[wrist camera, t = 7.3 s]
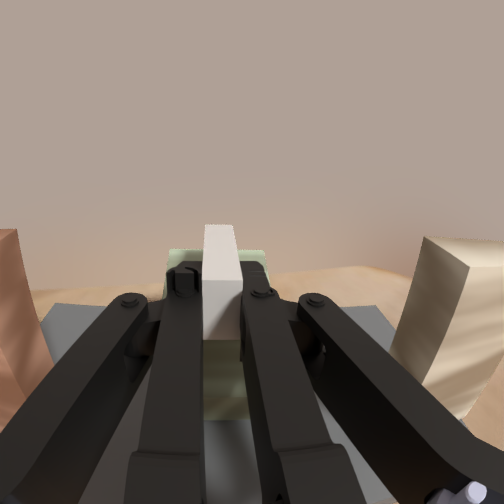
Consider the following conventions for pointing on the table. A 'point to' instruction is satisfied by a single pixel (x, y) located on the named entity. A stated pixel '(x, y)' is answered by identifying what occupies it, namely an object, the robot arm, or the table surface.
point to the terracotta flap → (18, 332)
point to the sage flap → (221, 355)
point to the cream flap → (454, 320)
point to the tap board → (205, 425)
